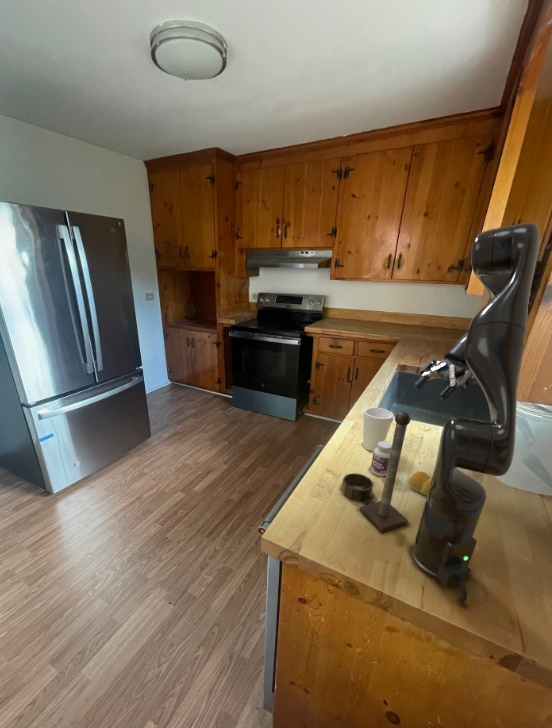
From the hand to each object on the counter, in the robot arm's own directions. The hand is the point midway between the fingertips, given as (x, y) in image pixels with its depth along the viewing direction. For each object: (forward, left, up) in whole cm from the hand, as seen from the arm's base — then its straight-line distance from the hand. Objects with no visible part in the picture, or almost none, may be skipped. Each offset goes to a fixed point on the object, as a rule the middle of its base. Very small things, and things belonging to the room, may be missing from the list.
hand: (428, 393), depth 93 cm
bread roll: (-9, +3, -26) cm, 27 cm away
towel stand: (-12, +22, -25) cm, 36 cm away
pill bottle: (+1, +11, -26) cm, 28 cm away
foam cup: (+15, +4, -26) cm, 30 cm away
